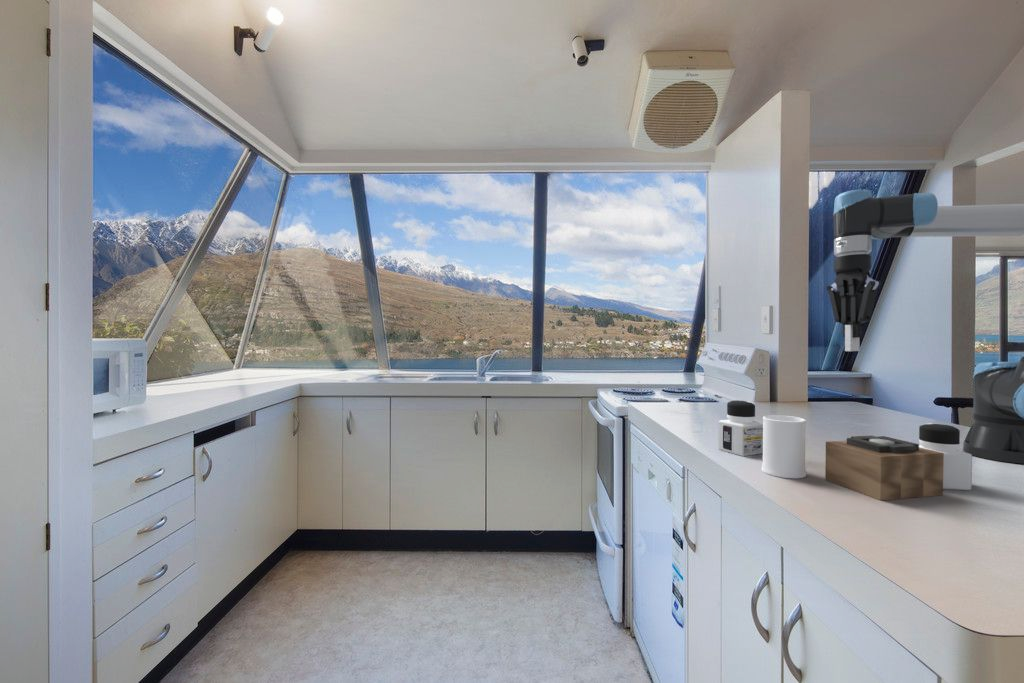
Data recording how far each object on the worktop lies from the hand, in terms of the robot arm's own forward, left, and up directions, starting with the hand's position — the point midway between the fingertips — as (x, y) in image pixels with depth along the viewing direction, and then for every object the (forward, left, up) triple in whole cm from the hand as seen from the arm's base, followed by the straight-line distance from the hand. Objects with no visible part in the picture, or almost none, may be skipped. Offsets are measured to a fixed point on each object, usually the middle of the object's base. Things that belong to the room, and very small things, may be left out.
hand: (852, 351), depth 115 cm
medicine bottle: (+2, +21, -26) cm, 34 cm away
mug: (+26, +8, -26) cm, 38 cm away
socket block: (+15, +21, -26) cm, 37 cm away
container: (+24, -9, -26) cm, 37 cm away
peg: (+15, +21, -26) cm, 37 cm away
